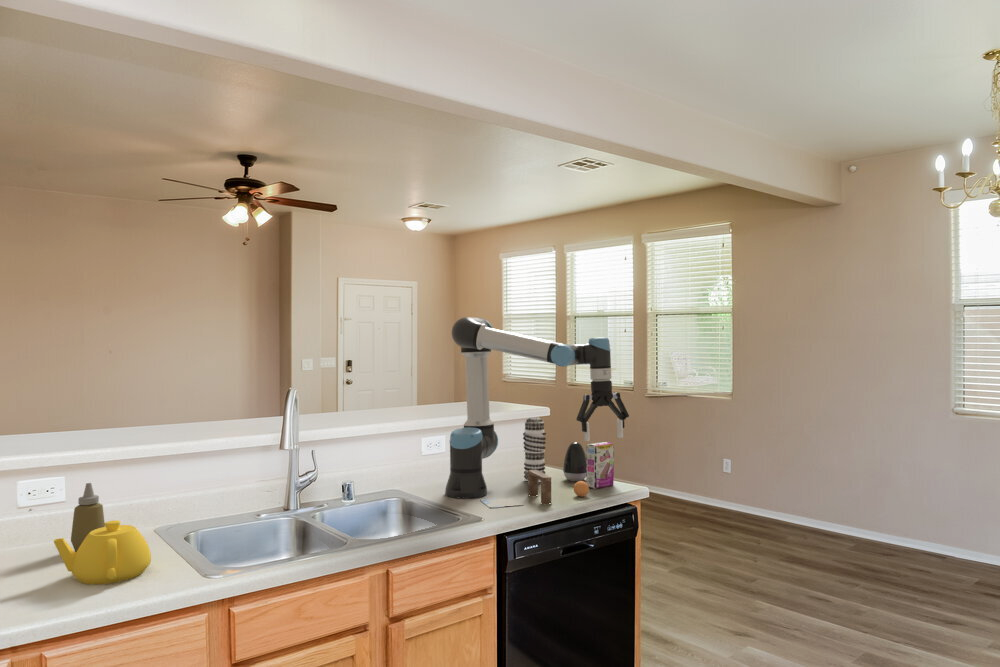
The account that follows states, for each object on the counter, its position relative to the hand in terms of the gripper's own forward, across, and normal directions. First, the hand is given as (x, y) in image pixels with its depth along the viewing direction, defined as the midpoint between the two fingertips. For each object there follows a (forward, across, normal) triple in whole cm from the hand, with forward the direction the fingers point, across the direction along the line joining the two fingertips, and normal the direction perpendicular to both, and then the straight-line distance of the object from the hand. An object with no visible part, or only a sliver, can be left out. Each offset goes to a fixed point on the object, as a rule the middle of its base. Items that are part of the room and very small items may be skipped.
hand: (604, 439), depth 242 cm
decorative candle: (+19, -14, +33) cm, 41 cm away
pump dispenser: (+20, +2, +29) cm, 35 cm away
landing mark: (+19, -39, +4) cm, 44 cm away
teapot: (+16, -153, -30) cm, 157 cm away
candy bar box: (+20, +6, +14) cm, 25 cm away
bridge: (+19, -25, +3) cm, 32 cm away
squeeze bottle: (+15, -161, -5) cm, 161 cm away
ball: (+17, -9, +2) cm, 19 cm away
